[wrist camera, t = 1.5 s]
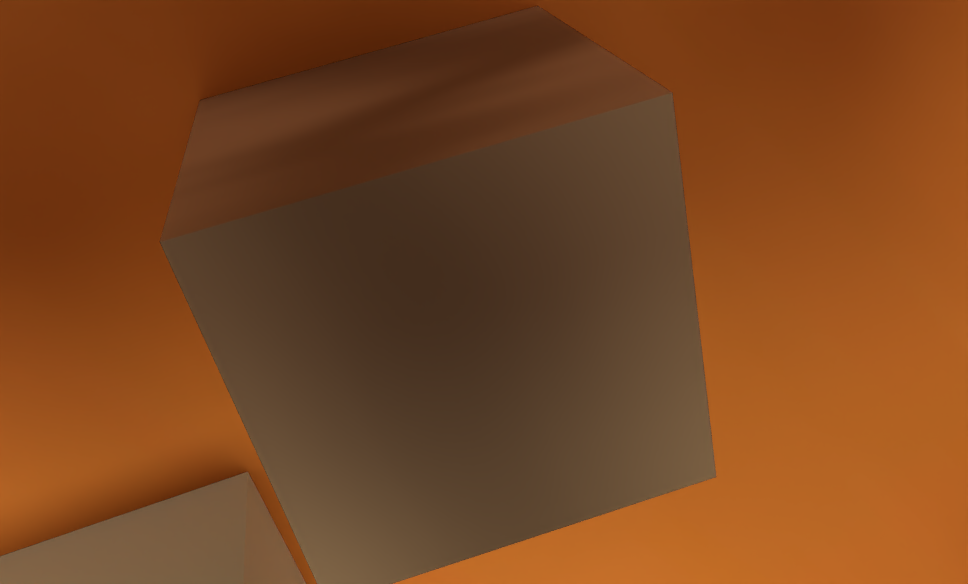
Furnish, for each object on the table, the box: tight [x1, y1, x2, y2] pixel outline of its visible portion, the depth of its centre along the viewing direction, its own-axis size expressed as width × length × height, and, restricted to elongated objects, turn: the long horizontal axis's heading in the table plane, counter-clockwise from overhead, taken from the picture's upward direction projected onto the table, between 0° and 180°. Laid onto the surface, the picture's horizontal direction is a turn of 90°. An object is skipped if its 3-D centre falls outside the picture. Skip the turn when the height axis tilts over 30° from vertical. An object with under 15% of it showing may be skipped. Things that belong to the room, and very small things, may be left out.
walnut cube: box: [160, 6, 716, 584], centre depth 12 cm, size 5×5×5 cm
